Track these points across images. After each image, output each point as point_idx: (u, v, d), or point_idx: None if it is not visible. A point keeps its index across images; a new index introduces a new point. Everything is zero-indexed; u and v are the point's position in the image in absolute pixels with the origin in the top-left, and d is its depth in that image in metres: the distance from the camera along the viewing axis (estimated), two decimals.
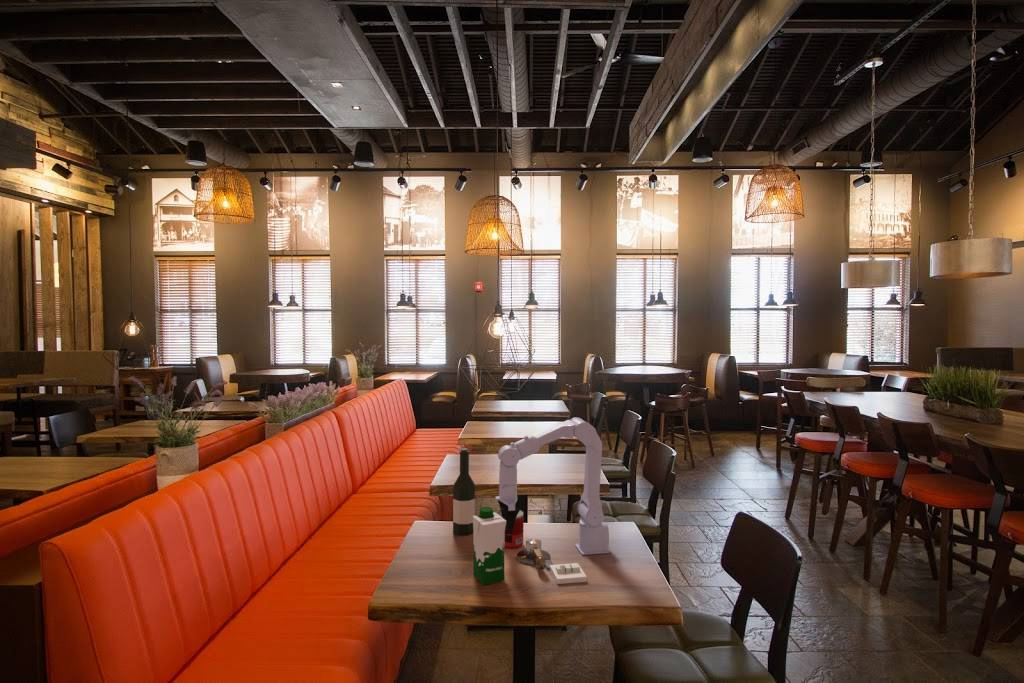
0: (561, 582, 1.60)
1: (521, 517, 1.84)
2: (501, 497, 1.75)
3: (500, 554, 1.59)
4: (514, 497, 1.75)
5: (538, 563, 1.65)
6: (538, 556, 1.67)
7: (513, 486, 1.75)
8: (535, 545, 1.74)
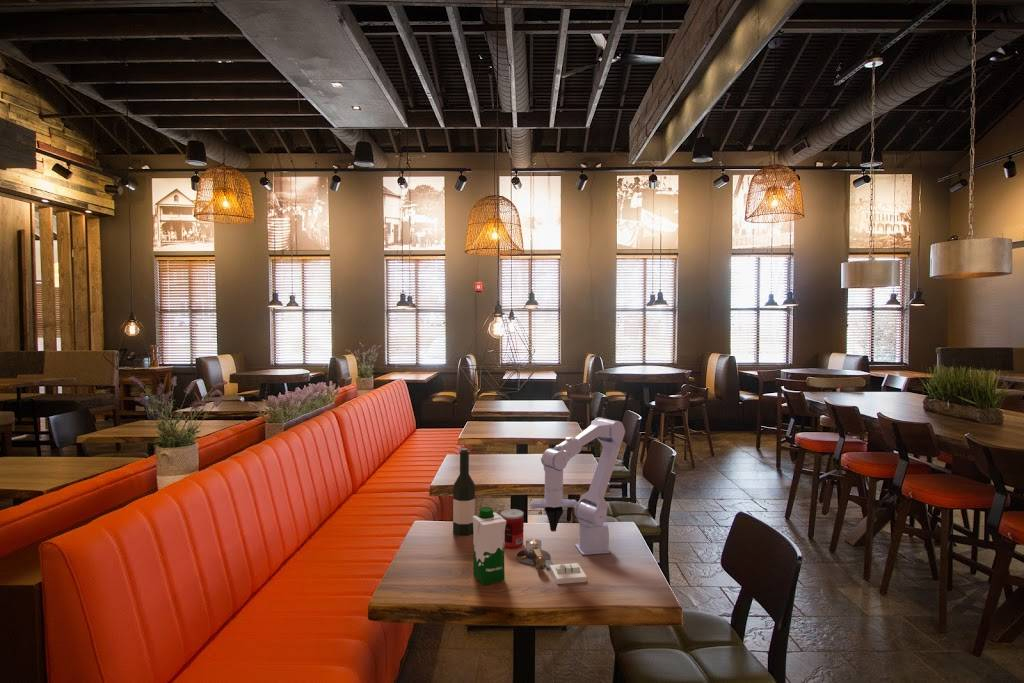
0: (561, 582, 1.60)
1: (521, 517, 1.84)
2: None
3: (500, 554, 1.59)
4: (547, 502, 1.70)
5: (538, 563, 1.65)
6: (538, 556, 1.67)
7: (546, 490, 1.70)
8: (535, 545, 1.74)
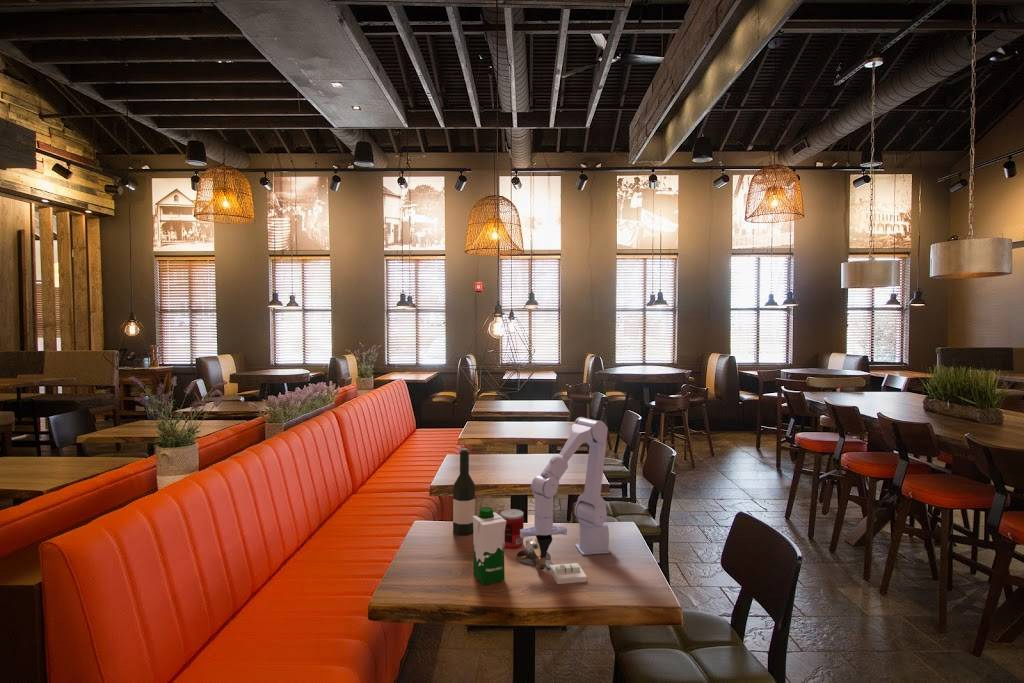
0: (561, 582, 1.60)
1: (521, 517, 1.84)
2: None
3: (500, 554, 1.59)
4: (537, 530, 1.67)
5: (538, 563, 1.65)
6: (538, 556, 1.67)
7: (536, 517, 1.68)
8: (535, 545, 1.74)
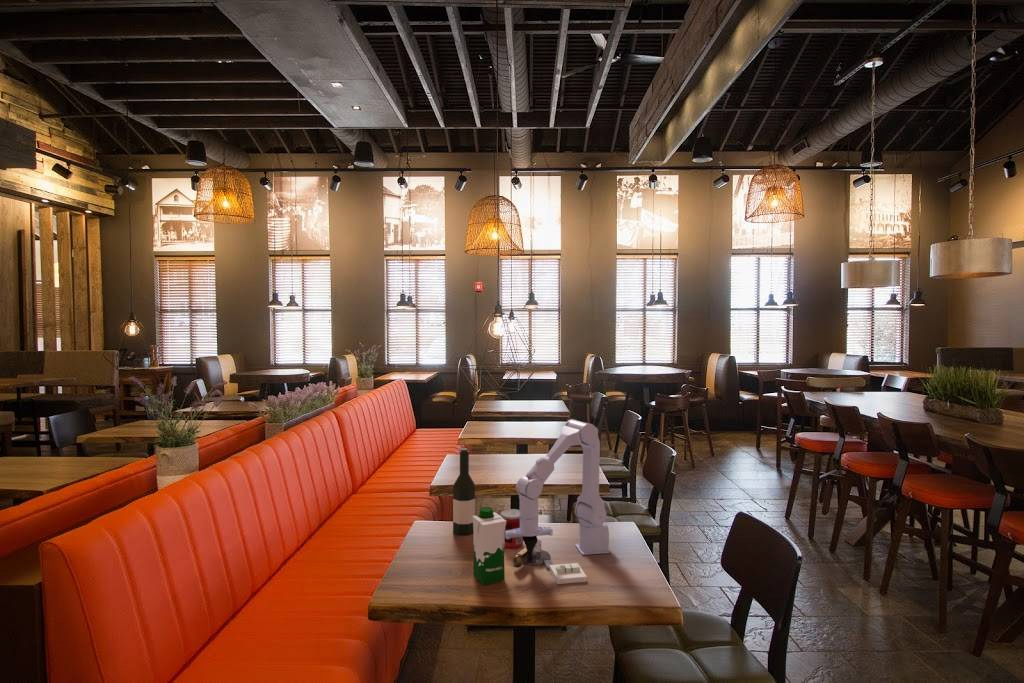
0: (561, 582, 1.60)
1: None
2: None
3: (500, 554, 1.59)
4: (523, 531, 1.67)
5: (513, 560, 1.67)
6: (517, 554, 1.69)
7: (521, 519, 1.67)
8: None
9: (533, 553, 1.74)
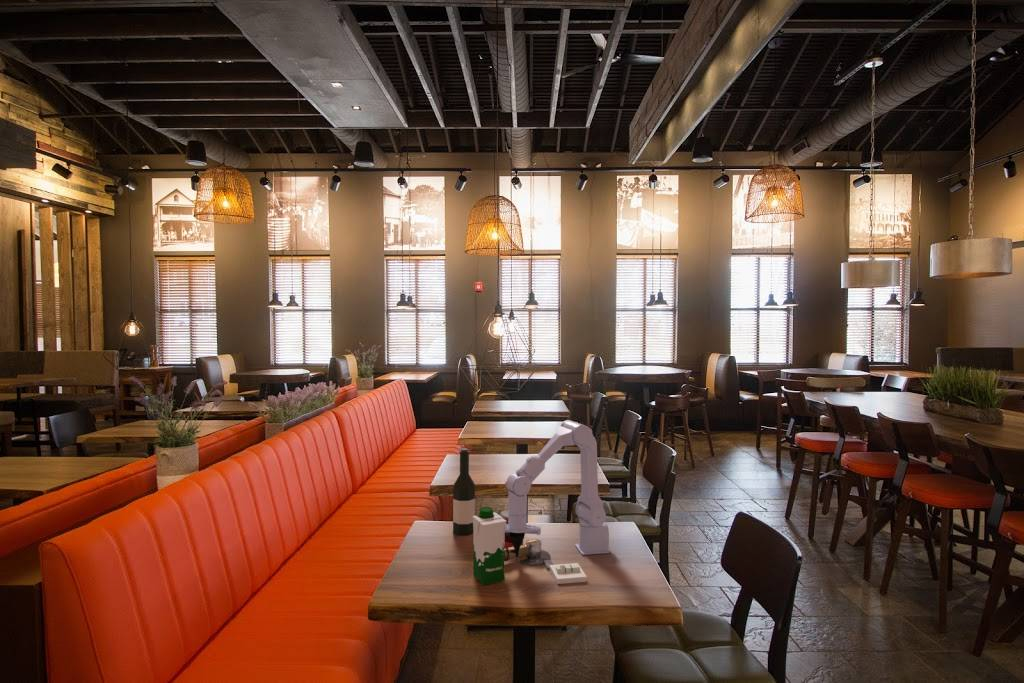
0: (561, 582, 1.60)
1: None
2: None
3: (500, 554, 1.59)
4: (509, 527, 1.69)
5: None
6: (506, 548, 1.73)
7: (509, 514, 1.70)
8: (526, 543, 1.75)
9: (529, 552, 1.74)
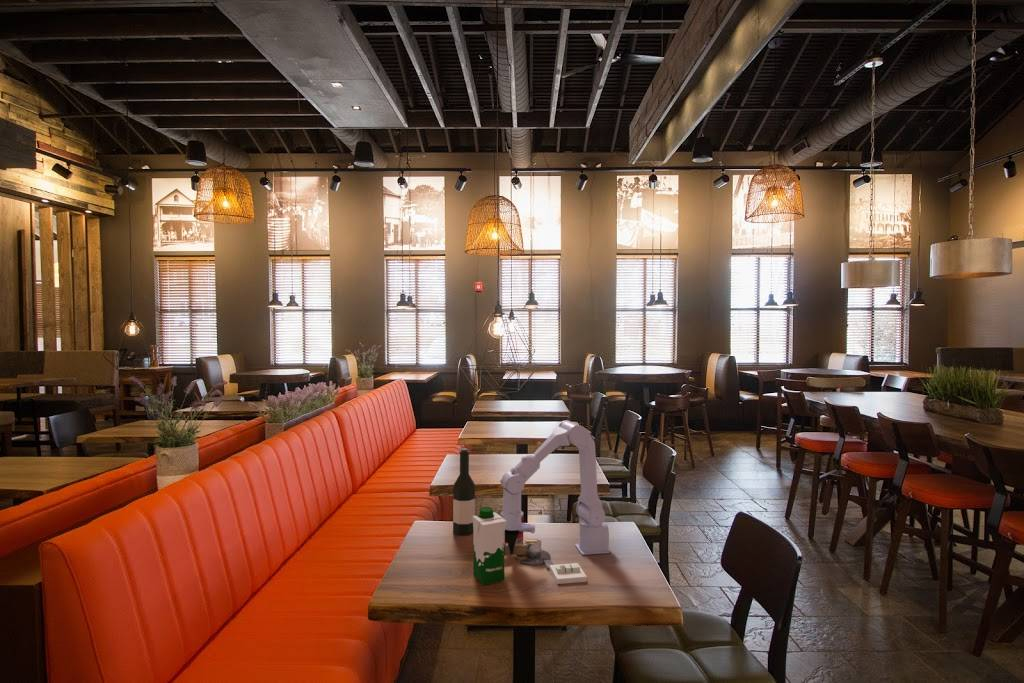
0: (561, 582, 1.60)
1: (521, 517, 1.84)
2: None
3: (500, 554, 1.59)
4: None
5: None
6: (504, 543, 1.76)
7: (503, 512, 1.72)
8: None
9: (527, 551, 1.75)
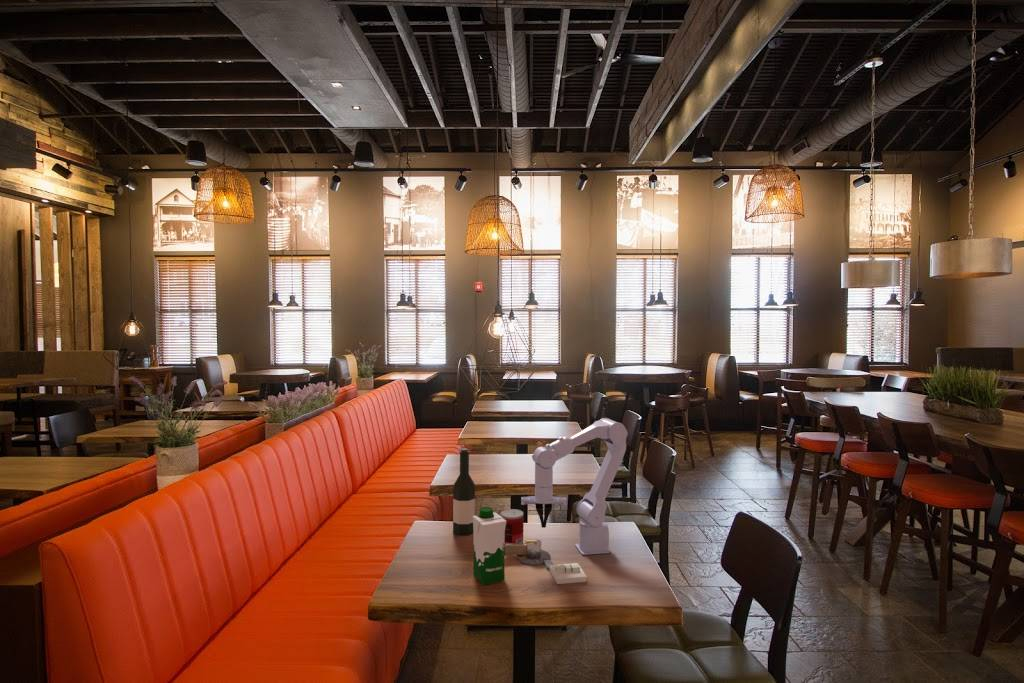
0: (561, 582, 1.60)
1: (521, 517, 1.84)
2: None
3: (500, 554, 1.59)
4: (536, 498, 1.75)
5: None
6: None
7: (536, 486, 1.76)
8: None
9: (527, 551, 1.75)
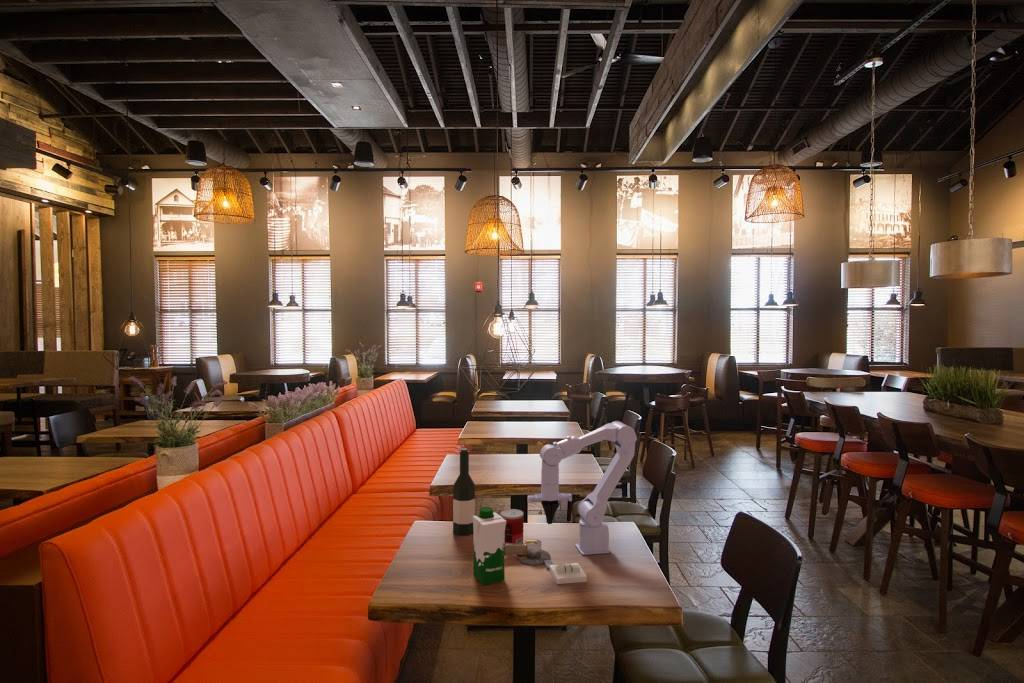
0: (561, 582, 1.60)
1: (521, 517, 1.84)
2: None
3: (500, 554, 1.59)
4: (544, 495, 1.77)
5: None
6: None
7: (543, 484, 1.78)
8: None
9: (527, 551, 1.75)
